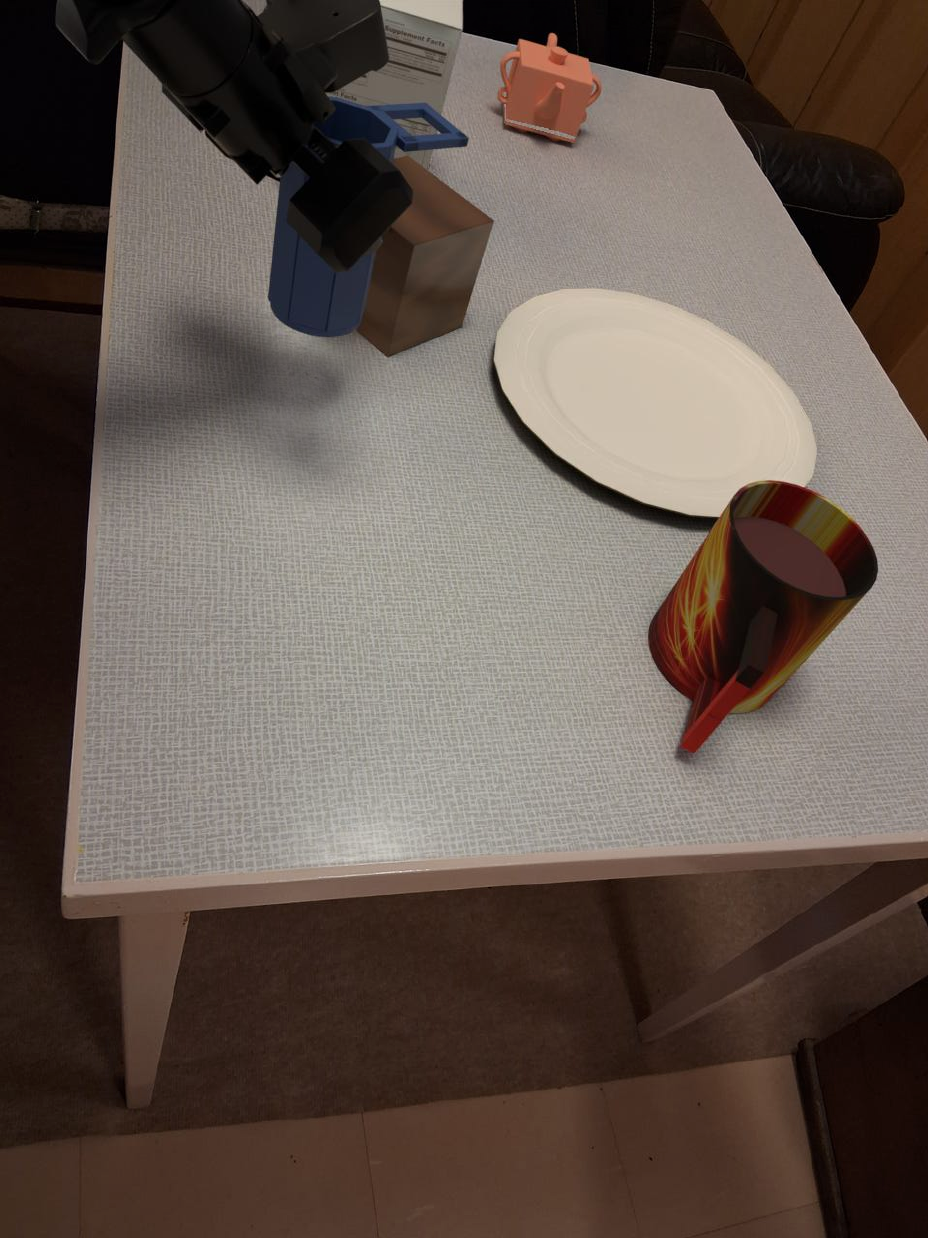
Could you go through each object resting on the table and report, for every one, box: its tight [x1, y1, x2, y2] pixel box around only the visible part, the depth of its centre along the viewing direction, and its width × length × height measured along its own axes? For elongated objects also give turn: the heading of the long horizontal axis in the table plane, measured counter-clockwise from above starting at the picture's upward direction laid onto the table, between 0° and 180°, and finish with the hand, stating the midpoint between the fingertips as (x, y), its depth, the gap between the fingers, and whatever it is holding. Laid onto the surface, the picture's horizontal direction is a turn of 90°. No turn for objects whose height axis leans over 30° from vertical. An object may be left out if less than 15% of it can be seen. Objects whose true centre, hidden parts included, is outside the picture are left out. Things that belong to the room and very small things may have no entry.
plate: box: [492, 287, 818, 520], centre depth 82 cm, size 29×29×2 cm
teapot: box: [496, 32, 602, 144], centre depth 109 cm, size 12×15×8 cm
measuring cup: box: [267, 96, 470, 338], centre depth 64 cm, size 11×6×13 cm, turn 127°
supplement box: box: [326, 0, 464, 171], centre depth 87 cm, size 13×13×18 cm
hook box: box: [355, 156, 495, 357], centre depth 75 cm, size 13×10×16 cm
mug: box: [647, 480, 879, 755], centre depth 60 cm, size 10×14×12 cm
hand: (347, 218), depth 63 cm, fingers closed on measuring cup, 6 cm apart
